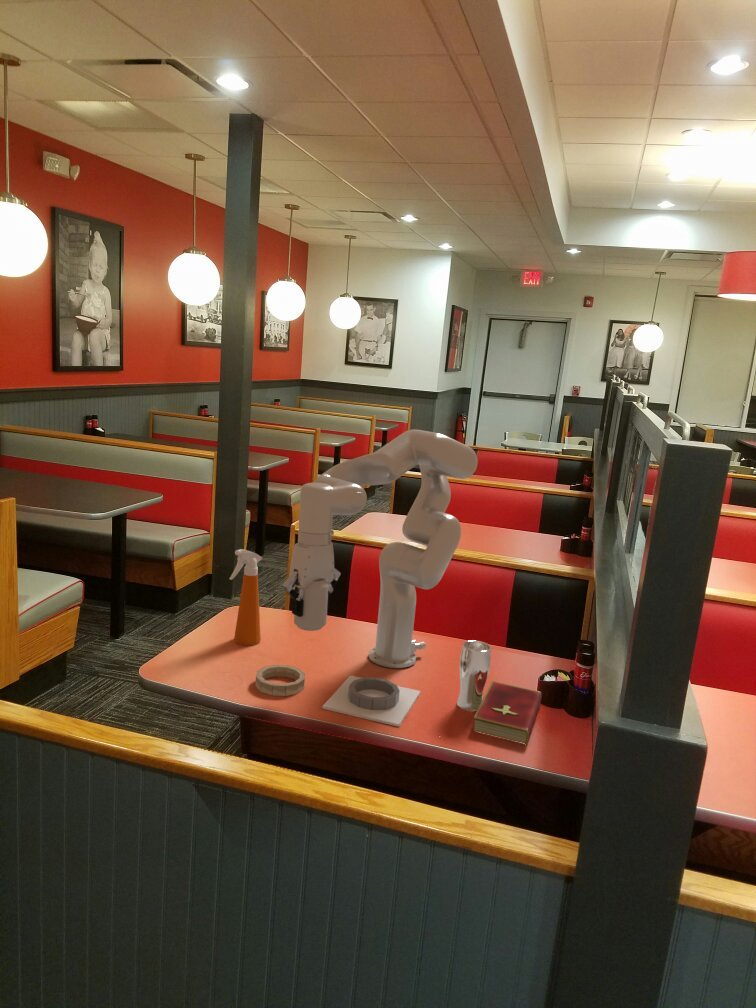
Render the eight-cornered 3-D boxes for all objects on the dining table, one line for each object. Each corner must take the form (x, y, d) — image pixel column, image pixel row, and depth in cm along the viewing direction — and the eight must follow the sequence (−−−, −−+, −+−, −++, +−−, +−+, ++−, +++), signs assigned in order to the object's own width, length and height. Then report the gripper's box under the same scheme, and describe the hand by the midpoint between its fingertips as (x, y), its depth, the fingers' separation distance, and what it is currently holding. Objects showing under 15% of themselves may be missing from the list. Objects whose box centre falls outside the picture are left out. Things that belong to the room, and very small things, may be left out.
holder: (350, 677, 179) (351, 666, 179) (420, 693, 174) (421, 681, 174) (322, 708, 163) (323, 695, 162) (399, 726, 157) (400, 713, 157)
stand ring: (290, 671, 180) (291, 661, 180) (312, 690, 171) (313, 680, 170) (248, 679, 174) (248, 669, 173) (268, 699, 165) (269, 689, 164)
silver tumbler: (465, 696, 175) (472, 637, 172) (490, 706, 171) (497, 646, 168) (449, 705, 170) (456, 644, 167) (474, 716, 165) (482, 654, 162)
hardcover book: (540, 707, 174) (542, 690, 173) (526, 748, 154) (529, 729, 153) (490, 695, 177) (492, 679, 177) (471, 734, 158) (473, 716, 157)
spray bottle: (217, 643, 193) (222, 548, 188) (248, 633, 202) (252, 542, 196) (235, 651, 189) (240, 554, 184) (266, 641, 197) (271, 547, 192)
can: (324, 633, 165) (327, 583, 163) (292, 631, 165) (294, 580, 162) (327, 621, 172) (330, 572, 170) (295, 619, 172) (298, 570, 170)
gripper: (332, 529, 173) (328, 599, 177) (273, 539, 161) (270, 614, 164) (354, 536, 168) (349, 608, 172) (295, 547, 156) (291, 624, 159)
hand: (310, 610), depth 168 cm, fingers closed on can, 7 cm apart
